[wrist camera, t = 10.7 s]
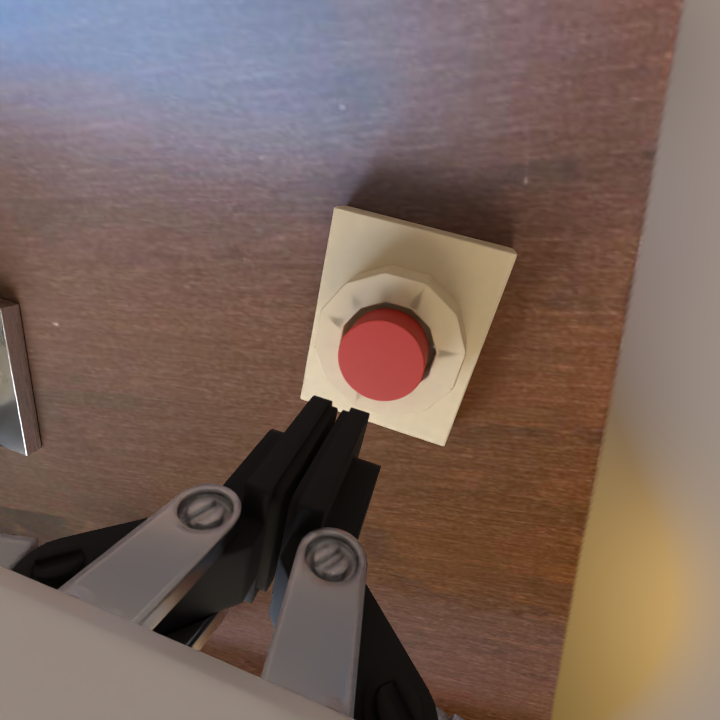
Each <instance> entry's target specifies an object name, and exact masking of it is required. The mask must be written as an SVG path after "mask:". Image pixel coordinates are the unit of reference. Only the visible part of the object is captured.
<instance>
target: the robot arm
mask: <svg viewBox="0 0 720 720" xmlns="http://www.w3.org/2000/svg"><path fill="white" fill-rule="evenodd" d="M337 411H338V408H336V407H333V406H332V401H331V400H328V399H325V398H322V397H319V396H315V395H314V396H313V397H312V398H311V399H310V400H309V402H308V403H307V404H306V406H305V407H304V408H303V409H302V411H301V412H300V413H299V415H298V416H297V417H296V418H295V420H294V421H293V422H292V424H291V425H290V426H289V427H288V429H287V430H286V431H285V433H283V432H280V431H277V430H274V429H272V430H270V431H269V432H268V433H267V434H266V435H265V436H264V438H263V439H262V440H261V441H260V442H259V444H258V445H257V446H256V447H255V448H254V449H253V451H252V452H251V453H250V454H249V455H248V456H247V458H246V459H245V460H244V461H243V462H242V464H241V465H240V466H239V467H238V468H237V469H236V471H235V472H234V473H233V474H232V475H231V477H230V478H229V479H228V480H227V481H226V482H225V484H224V485H223V486H222V485H218V484H200V485H196V486H193V487H190V488H188V489H186V490H184V491H183V492H181V493H179V494H178V495H177V496H176V497H174V498H173V499H172V500H171V501H169V502H168V503H167V504H165V505H164V506H163V507H162V508H160V509H159V510H158V511H157V512H155V513H154V514H153V515H151V516H150V517H149V518H145V519H141V520H137V521H132V522H128V523H124V524H119V525H115V526H111V527H107V528H102V529H98V530H94V531H89V532H85V533H81V534H77V535H72V536H68V537H64V538H60V539H57V540H54V541H51V542H48V543H45V544H43V545H39V543H38V539H37V538H30V537H24V536H17V535H10V534H4V533H0V720H464V719H463V718H461V717H460V716H459V715H457V714H456V713H454V715H453V717H452V718H451V717H450V716H449V715H447V714H446V713H444V712H443V711H442V710H440V709H439V708H437V707H436V705H435V703H434V701H433V699H432V696H431V694H430V692H429V690H428V688H427V686H426V685H425V683H424V681H423V680H422V678H421V676H420V675H419V673H418V671H417V669H416V668H415V666H414V664H413V663H412V661H411V659H410V658H409V656H408V654H407V653H406V651H405V649H404V647H403V646H402V644H401V642H400V641H399V639H398V637H397V636H396V634H395V632H394V630H393V629H392V627H391V625H390V624H389V622H388V620H387V619H386V617H385V615H384V614H383V612H382V610H381V608H380V607H379V605H378V603H377V602H376V600H375V598H374V597H373V595H372V593H371V592H370V590H369V588H368V586H367V585H366V573H367V555H366V553H365V550H364V548H363V546H362V545H361V543H360V542H359V541H358V538H359V535H360V532H361V529H362V526H363V522H364V519H365V516H366V513H367V510H368V507H369V503H370V500H371V497H372V494H373V491H374V487H375V484H376V481H377V477H378V474H379V471H380V467H381V466H379V465H376V464H373V463H370V462H368V461H365V460H362V459H359V458H358V456H359V452H360V449H361V445H362V441H363V438H364V434H365V430H366V427H367V423H368V419H369V415H370V413H368V412H365V411H361V410H358V409H355V408H352V407H351V409H350V410H349V412H348V411H345V410H342V412H341V413H340V415H339V417H338V418H337V420H336V416H337ZM335 420H336V422H335ZM275 574H276V575H275ZM274 576H275V580H274V585H273V590H272V595H273V596H272V601H271V606H270V611H269V615H270V617H271V620H272V623H273V626H274V628H275V630H274V633H273V637H272V640H271V644H270V647H269V651H268V654H267V658H266V661H265V665H264V668H263V672H262V675H261V678H259V677H257V676H255V675H253V674H250V673H248V672H246V671H243V670H241V669H239V668H237V667H234V666H232V665H230V664H227V663H225V662H223V661H221V660H218V659H216V658H214V657H211V656H209V655H207V654H204V653H202V652H200V649H201V648H202V647H203V646H204V644H205V643H206V642H207V640H208V639H209V638H210V636H211V635H212V634H213V632H214V631H215V630H216V629H217V627H218V626H219V625H220V623H221V622H222V621H223V619H224V617H225V615H226V614H227V612H228V608H230V607H232V606H235V605H238V604H240V603H243V601H244V600H245V601H247V602H250V603H252V602H253V600H254V598H255V596H256V594H257V592H258V591H259V589H260V590H262V591H265V592H266V591H267V590H268V588H269V586H270V584H271V582H272V580H273V578H274Z"/></svg>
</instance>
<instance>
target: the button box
mask: <svg viewBox="0 0 720 720" xmlns="http://www.w3.org/2000/svg"><path fill="white" fill-rule="evenodd" d="M516 257H517V253H516V252H515V250H514V249H513V248H510V247H506V246H502V245H498V244H494V243H490V242H486V241H482V240H478V239H475V238H471V237H467V236H463V235H459V234H455V233H451V232H447V231H443V230H440V229H436V228H432V227H428V226H424V225H420V224H416V223H412V222H408V221H405V220H401V219H397V218H393V217H389V216H385V215H381V214H377V213H373V212H370V211H366V210H362V209H358V208H354V207H350V206H338V207H334V211H333V217H332V223H331V228H330V234H329V240H328V245H327V251H326V257H325V262H324V268H323V274H322V279H321V285H320V291H319V296H318V302H317V308H316V313H315V319H314V325H313V330H312V336H311V342H310V347H309V353H308V358H307V364H306V370H305V375H304V381H303V387H302V392H301V399H303V400H306V401H309V400H310V399H311V398H312V397H313V396H314V395H315V396H319V397H322V398H325V399H328V400H331V401H332V406H333V407H336V408H338V411H339V412H342V410H345V411H348V412H349V410H350V409H351V407H352V408H355V409H358V410H361V411H365V412H368V413H370V415H369V419H368V421H369V422H372V423H375V424H378V425H381V426H384V427H387V428H390V429H393V430H396V431H399V432H402V433H405V434H408V435H411V436H414V437H417V438H420V439H423V440H426V441H429V442H432V443H435V444H438V445H441V446H444V445H445V443H446V441H447V438H448V436H449V433H450V430H451V428H452V425H453V422H454V420H455V417H456V415H457V412H458V409H459V407H460V404H461V401H462V399H463V396H464V394H465V391H466V388H467V386H468V383H469V380H470V378H471V375H472V373H473V370H474V367H475V365H476V362H477V360H478V357H479V354H480V352H481V349H482V346H483V344H484V341H485V339H486V336H487V333H488V331H489V328H490V325H491V323H492V320H493V318H494V315H495V312H496V310H497V307H498V304H499V302H500V299H501V297H502V294H503V291H504V289H505V286H506V284H507V281H508V278H509V276H510V273H511V270H512V268H513V265H514V263H515V260H516ZM380 308H392V309H397V310H400V311H403V312H405V313H407V314H409V315H410V316H412V317H413V318H414V319H415V320H416V321H417V322H418V323H419V324H420V325H421V326H422V328H423V329H424V331H425V333H426V336H427V339H428V344H429V355H428V359H427V363H426V367H425V371H424V374H423V377H422V379H421V381H420V383H419V385H418V386H417V387H416V388H415V389H414V390H413V391H412V392H411V393H410V394H408V395H407V396H405V397H403V398H400V399H397V400H393V401H377V400H372V399H369V398H367V397H364V396H362V395H360V394H359V393H357V392H356V391H355V390H354V389H352V388H351V387H350V385H349V384H348V383H347V382H346V380H345V379H344V377H343V375H342V373H341V371H340V368H339V363H338V350H339V346H340V343H341V341H342V338H343V337H344V335H345V334H346V333H347V332H348V330H349V329H350V328H351V327H352V326H353V325H354V324H355V322H356V321H357V320H358V319H359V318H360V317H361V316H363V315H364V314H366V313H368V312H370V311H372V310H375V309H380Z"/></svg>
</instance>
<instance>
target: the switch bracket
mask: <svg viewBox="0 0 720 720" xmlns="http://www.w3.org/2000/svg"><path fill="white" fill-rule="evenodd" d="M0 445H1V446H3V447H6V448H8V449H11V450H13V451H16V452H19V453H21V454H24V455H26V456H28V455H29V454H31V453H33V452H34V451H36V450H38V449H39V448H41V441H40V434H39V428H38V422H37V416H36V409H35V403H34V397H33V391H32V384H31V378H30V372H29V366H28V359H27V353H26V347H25V341H24V334H23V328H22V322H21V316H20V310H19V305H18V304H16V303H13V302H10V301H7V300H4V299H1V298H0Z"/></svg>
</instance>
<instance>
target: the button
mask: <svg viewBox="0 0 720 720" xmlns="http://www.w3.org/2000/svg"><path fill="white" fill-rule="evenodd" d="M428 355H429V344H428V339H427V336H426V333H425V331H424V329H423V328H422V326H421V325H420V324H419V323H418V322H417V321H416V320H415V319H414V318H413V317H412V316H410V315H409V314H407V313H405V312H403V311H400V310H397V309H392V308H380V309H375V310H372V311H370V312H368V313H366V314H364V315H363V316H361V317H360V318H359V319H358V320H357V321H356V322H355V324H354V325H353V326H352V327H351V328H350V329H349V330H348V332H347V333H346V334H345V335H344V337H343V338H342V341H341V343H340V346H339V350H338V363H339V368H340V371H341V373H342V375H343V377H344V379H345V380H346V382H347V383H348V384H349V385H350V387H351V388H352V389H354V390H355V391H356V392H357V393H359V394H360V395H362V396H364V397H367V398H369V399H372V400H377V401H393V400H397V399H400V398H403V397H405V396H407V395H408V394H410V393H411V392H412V391H413V390H414V389H415V388H416V387H417V386H418V385H419V383H420V381H421V379H422V377H423V374H424V371H425V367H426V363H427V359H428Z"/></svg>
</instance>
